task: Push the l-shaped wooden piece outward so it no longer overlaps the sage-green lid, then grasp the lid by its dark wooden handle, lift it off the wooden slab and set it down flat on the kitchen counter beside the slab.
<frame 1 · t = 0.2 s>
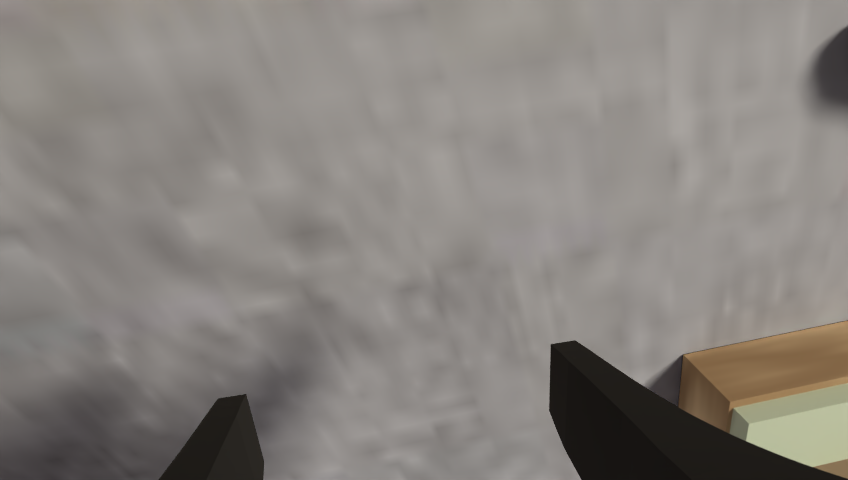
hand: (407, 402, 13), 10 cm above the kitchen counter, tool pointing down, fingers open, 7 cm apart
wooden slab: (770, 448, 31), on the kitchen counter
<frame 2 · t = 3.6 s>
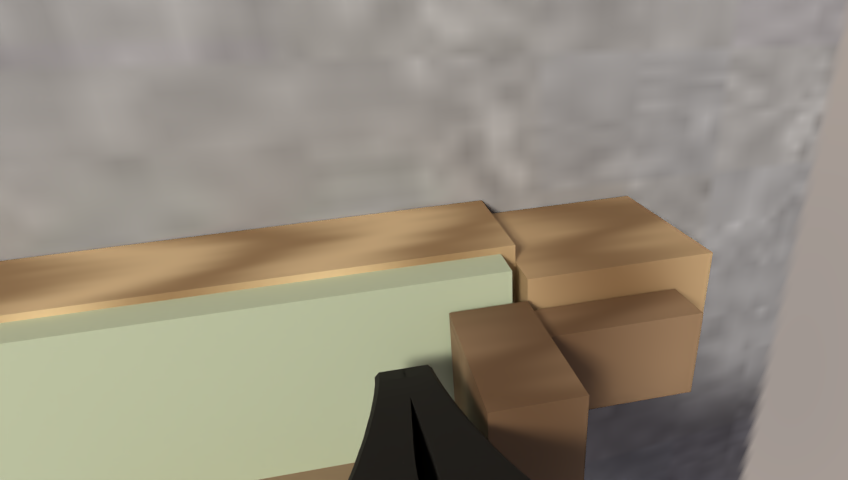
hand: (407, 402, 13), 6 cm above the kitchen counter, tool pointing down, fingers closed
l-shaped wooden piece: (593, 388, 13), point 7 cm above the kitchen counter, slide at 1.4 cm, touching gripper
lid: (250, 467, 16), point 3 cm above the kitchen counter, touching wooden slab
wooden slab: (263, 389, 19), on the kitchen counter
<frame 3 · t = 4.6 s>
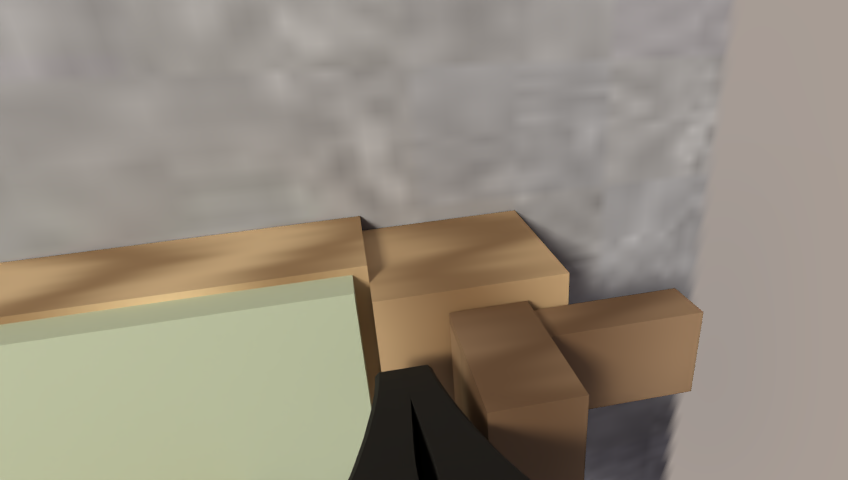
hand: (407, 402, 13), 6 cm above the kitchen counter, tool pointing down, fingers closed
l-shaped wooden piece: (593, 388, 13), point 6 cm above the kitchen counter, slide at 5.3 cm, touching gripper
wooden slab: (147, 409, 19), on the kitchen counter
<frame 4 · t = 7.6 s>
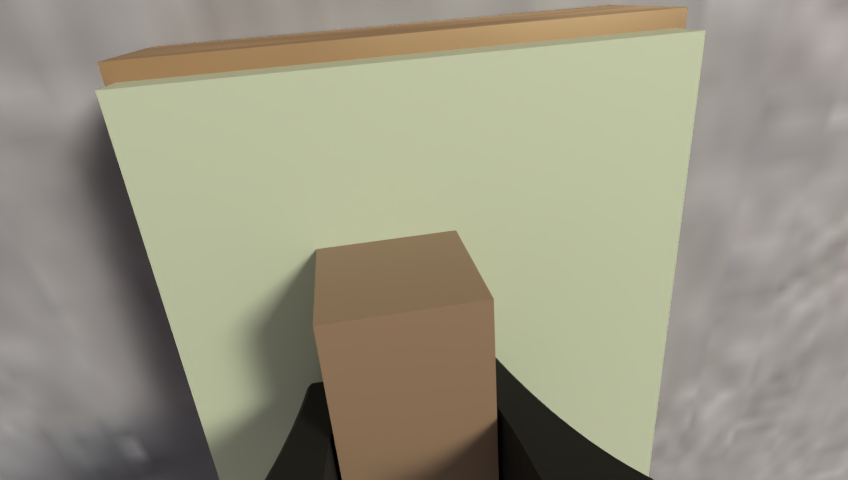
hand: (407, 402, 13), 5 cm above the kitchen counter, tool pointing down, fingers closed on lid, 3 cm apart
lid: (437, 357, 14), point 3 cm above the kitchen counter, touching gripper, wooden slab
wooden slab: (417, 292, 18), on the kitchen counter
when the fingers open (4 cm above the kitchen counter, at t = 11.2 s): lid drops 2 cm, on the kitchen counter.
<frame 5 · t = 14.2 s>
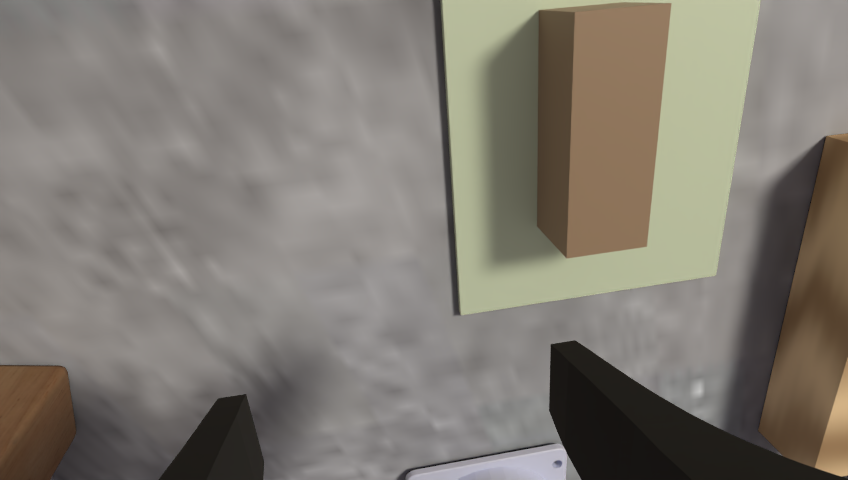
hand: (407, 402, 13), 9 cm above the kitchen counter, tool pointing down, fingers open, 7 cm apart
lid: (590, 114, 21), on the kitchen counter
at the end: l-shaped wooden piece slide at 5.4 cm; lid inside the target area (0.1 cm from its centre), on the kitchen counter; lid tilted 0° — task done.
